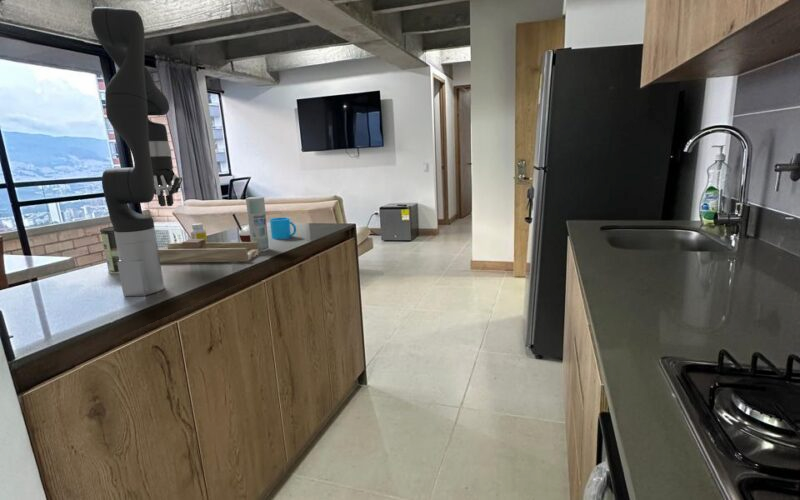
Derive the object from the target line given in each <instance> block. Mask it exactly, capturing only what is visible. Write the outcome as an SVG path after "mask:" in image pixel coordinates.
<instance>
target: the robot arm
mask: <svg viewBox="0 0 800 500" xmlns="http://www.w3.org/2000/svg"><path fill="white" fill-rule="evenodd" d="M90 19H91V21H90V22H91V26H92V30H93V32H94V34H95V37H96V38H97V40H98V41H99V43H100V45H101V46H102V48H103V49H104V50H105V52H106V53H107V54H108V56H109V57H110V58H111V60H112V61H113V62H114V64H115V65H116V66H117V67H118V70H117V71H116V73H115V74H114V75H113V76H112V77H111V79H110V81H109V82H108V84H107V86H106V88H105V92H104V93H105V96H104V98H105V113H106V118H107V120H108V122H109V123H110V124H111V126H112V128H113V129H114V130H115V131H116V133H117V134H118V135H119V136H120V137H121V139H122V140H123V141H124V142H125V144H126V145H127V147H128V148H129V150H130V152H131V156H132V158H133V165H134V167H115V168H114V167H113V168H112V167H111V168H107V169H105V170H103V173H102V177H101V187H102V192H103V195H104V199H105V203H106V207H107V211H108V212H107V213H108V215H109V219H110V221H111V222H110V223H111V224H112V225H111V226H112V227H113V229H114V234H115V239H116V245H117V250H118V256H119V261H118V262H117V264H118V269H119V274H118V275H119V278H120V284H121V289H122V294H123V297H132V296H133V297H138V296H139V297H143V296H144V297H146V296H148V295H151V294H155V293H158V292H160V291H162V290H164V288H165V282H164V278H163V271H162V265H161V264H162V263H160V258H159V252H158V249H159V247H158V246H159V245H158V241H157V235H156V229H155V228H156V227H155V221H154V219H153V217H152V216H150V215H147V214H143V213H139V212H136V211H135V210H133V209H131V208H130V207H129V205H130V204H147V203H151V202H152V201H153V200H154V197H155V195H156V196H157V200H158V201H157V202H158V205H159V207H165V206H167V207H172V206H173V204H174V196H173V195H174V194H177V193H178V192H179V190H180V186H181V184H182V181H183V177H181V176H177V175H176V174H175V172H174V170H173V169H174V166H173V165H174V164H173V158H172V152H171V146H170V143H169V138H168V137H169V136H168V131H167V127H166V125H165V124H163V123H161V122H154V121H151V120H150V119H149V116H151V117H152V116H159V117H160V116H165V115H167V114H168V113H169V111H170V104H169V103H170V102H169V101H168V99H167V97H166V95H165V94H164V93H163V92H162V91H161V90H160V89H159V87H158V86H157V85H156V83H155V81H154V79H153V76H152V73H151V72H150V70H149V68H147V66H146V65H145V47H146V46H145V45H146V44H145V43H146V42H145V39H146V37H145V27H144V26H145V25H144V21H143V19H142V16H141V14H140V13H139V12H138V11H136V10H133V9H129V8H123V7H121V8H120V7H107V6H98V7H97V6H95V7H94V8H93V9H92V11H91V15H90ZM125 48H127V50H126V49H125ZM164 192H165V193H164Z"/></svg>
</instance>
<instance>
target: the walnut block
mask: <svg viewBox="0 0 800 500" xmlns="http://www.w3.org/2000/svg"><path fill="white" fill-rule="evenodd" d="M181 243H182V245H183V249H207V247H206V240H205V239H191V238H189V239H187V240H185V241H182V242H181Z"/></svg>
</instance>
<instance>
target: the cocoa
mask: <svg viewBox="0 0 800 500" xmlns="http://www.w3.org/2000/svg"><path fill="white" fill-rule="evenodd" d="M232 216H233V218H234V221H235V223H236V226H237V227H238V229H239V231H238V234H239V235H238V237H239V239H240V242H251V238H250V230H249V226H245V227H243V228H242V226H241V224H240V222H239V220H238V218H237V216H236V214H235V213H232Z"/></svg>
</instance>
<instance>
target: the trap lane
mask: <svg viewBox="0 0 800 500" xmlns="http://www.w3.org/2000/svg"><path fill="white" fill-rule="evenodd" d="M166 246H167V248H166V249H165V248H164V249H161V248H158V252H159V258H160V264H162V263H163V264H164V263H165V264H166V263H167V264H169V263H222V262H223V263H225V262H226V263H228V262H229V263H230V262H231V263H232V262H238V261H240V262H249V261H250V260H252V259H254V258H256V257H257V256H258V255H260V252H259V244H258V242H242V241H232V242H231V241H228V242H224V241H223V242H217V241H216V242H207V243H206V247H207V249H183V245H182V242H177V243H176V242H171V243H170V242H168V243H167V244H166ZM256 255H257V256H256ZM253 257H254V258H253Z"/></svg>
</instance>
